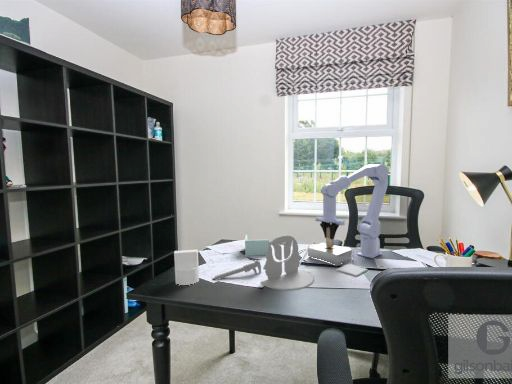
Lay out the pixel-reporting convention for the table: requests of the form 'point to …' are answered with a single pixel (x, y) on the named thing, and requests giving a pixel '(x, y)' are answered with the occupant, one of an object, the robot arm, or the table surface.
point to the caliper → (241, 270)
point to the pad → (352, 270)
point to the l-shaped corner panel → (256, 246)
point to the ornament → (285, 266)
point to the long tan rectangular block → (329, 241)
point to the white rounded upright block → (186, 267)
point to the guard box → (330, 253)
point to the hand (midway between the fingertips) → (329, 238)
